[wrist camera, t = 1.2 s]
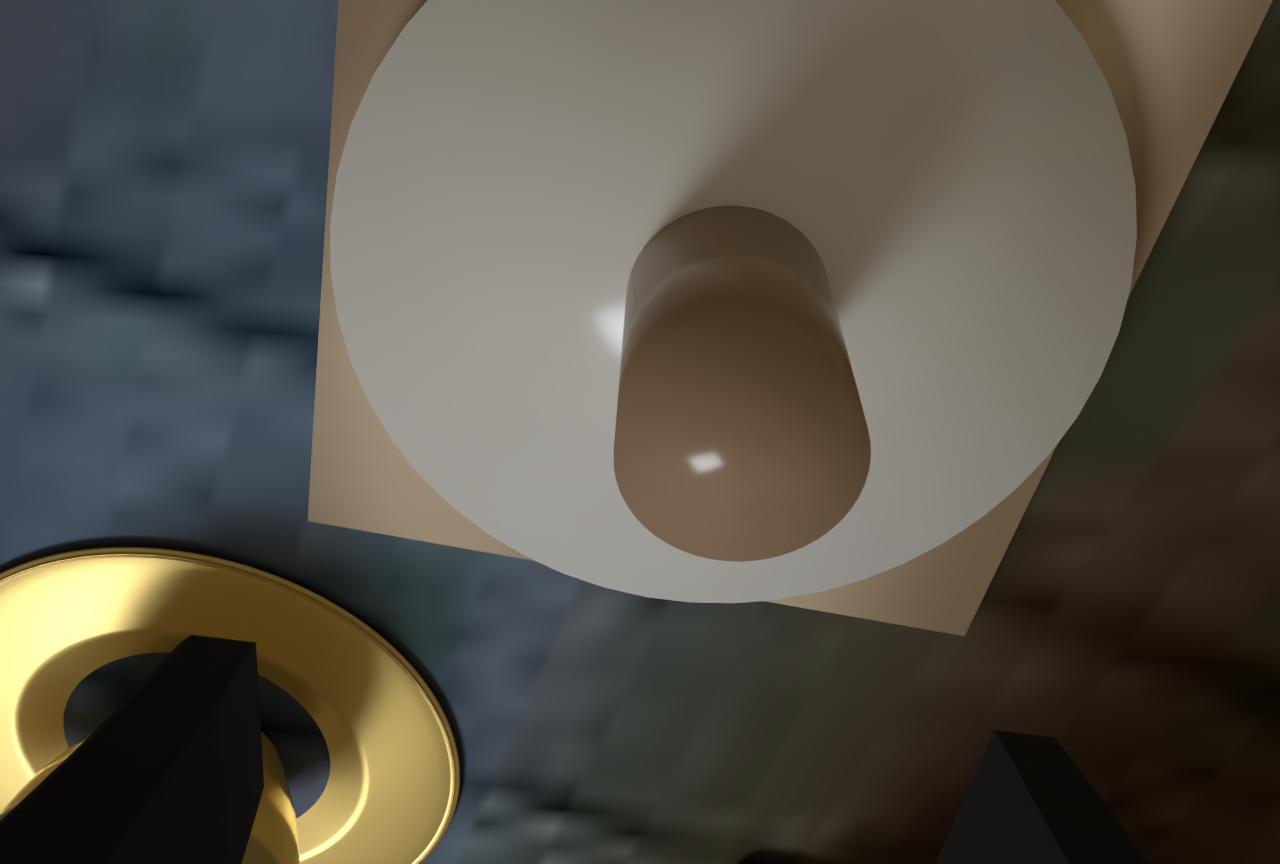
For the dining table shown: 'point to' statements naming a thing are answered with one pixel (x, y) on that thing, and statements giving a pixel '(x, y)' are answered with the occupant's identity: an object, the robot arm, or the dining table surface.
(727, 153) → the lid
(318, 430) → the mat
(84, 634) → the cup
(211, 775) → the robot arm
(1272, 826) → the dining table surface
